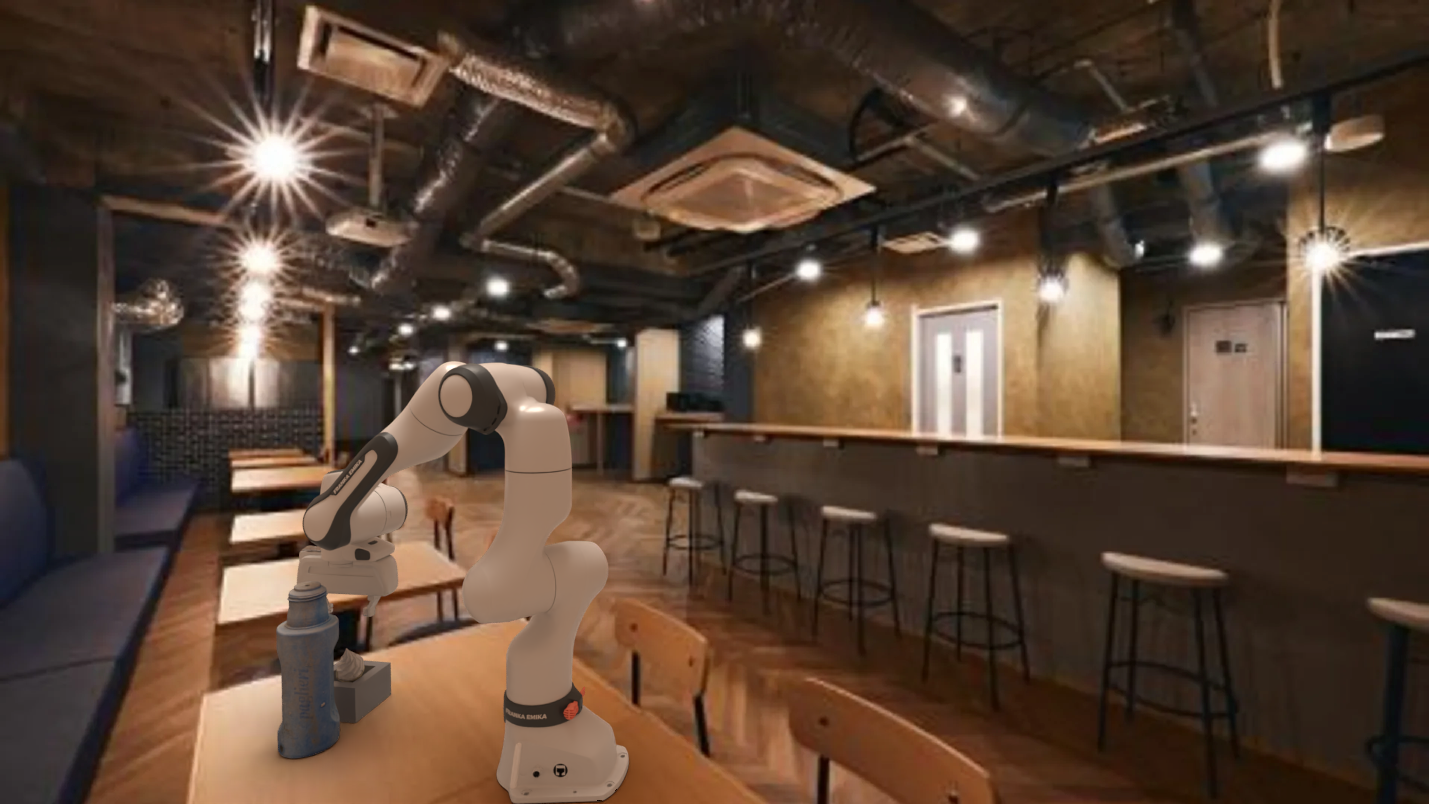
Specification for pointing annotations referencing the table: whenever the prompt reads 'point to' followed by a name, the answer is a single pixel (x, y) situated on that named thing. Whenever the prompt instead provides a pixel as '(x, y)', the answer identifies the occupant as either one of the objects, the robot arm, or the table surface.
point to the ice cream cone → (350, 667)
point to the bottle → (307, 673)
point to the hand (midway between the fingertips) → (348, 614)
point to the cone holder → (362, 691)
